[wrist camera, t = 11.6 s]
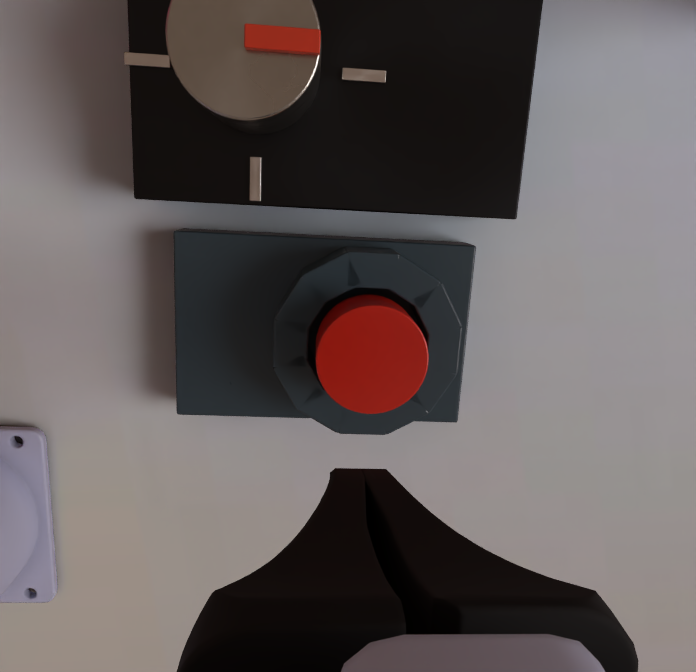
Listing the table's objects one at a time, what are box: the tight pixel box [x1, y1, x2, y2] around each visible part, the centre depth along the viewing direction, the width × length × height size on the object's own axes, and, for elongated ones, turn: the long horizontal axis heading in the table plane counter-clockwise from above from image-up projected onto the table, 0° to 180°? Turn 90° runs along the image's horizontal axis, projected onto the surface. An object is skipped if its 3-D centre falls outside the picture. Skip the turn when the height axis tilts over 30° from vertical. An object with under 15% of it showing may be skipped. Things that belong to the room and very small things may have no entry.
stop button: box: [316, 294, 429, 414], centre depth 19 cm, size 4×4×2 cm
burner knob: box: [165, 0, 322, 134], centre depth 16 cm, size 4×4×4 cm
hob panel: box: [124, 0, 543, 219], centre depth 20 cm, size 13×8×3 cm, turn 87°
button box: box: [174, 228, 476, 435], centre depth 21 cm, size 11×7×4 cm, turn 87°
